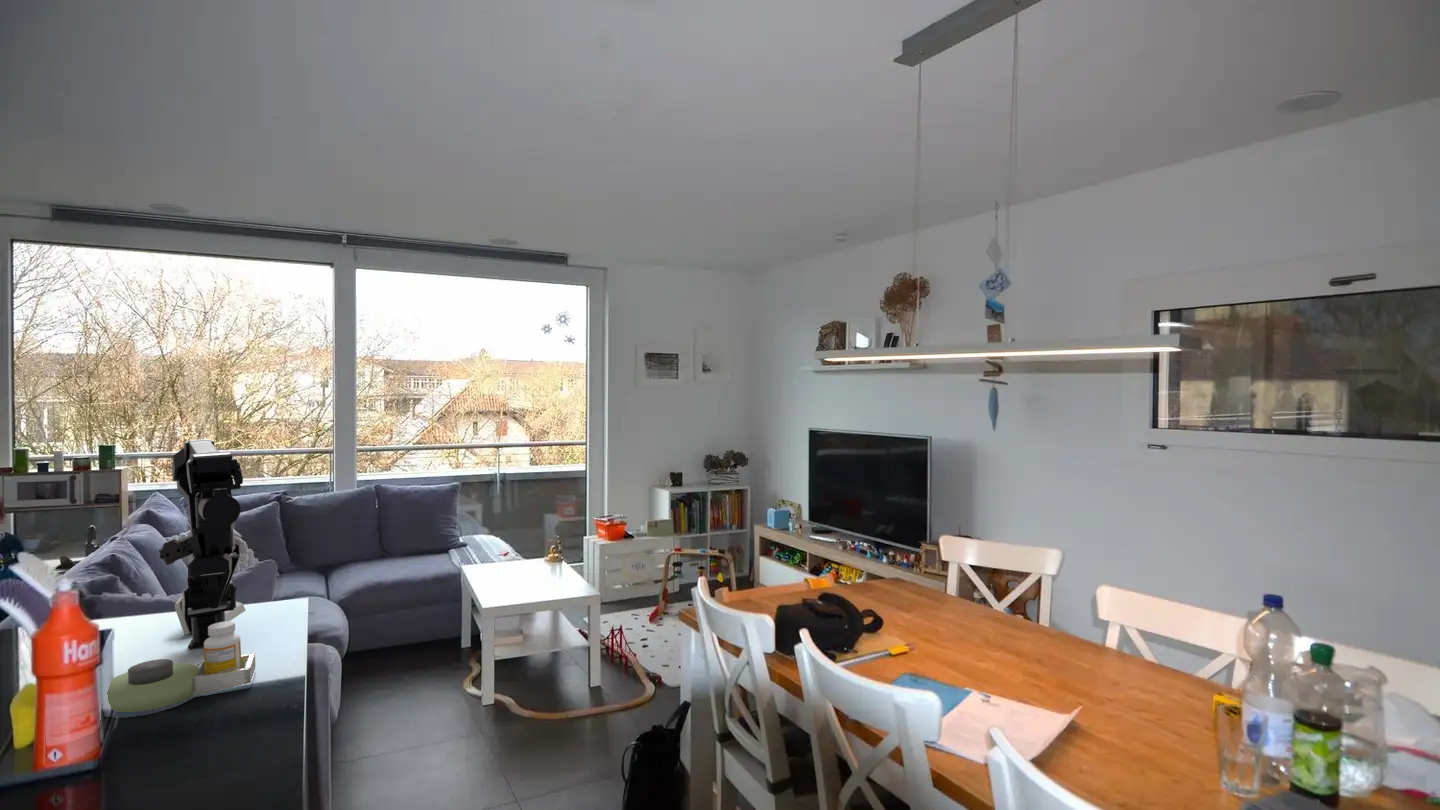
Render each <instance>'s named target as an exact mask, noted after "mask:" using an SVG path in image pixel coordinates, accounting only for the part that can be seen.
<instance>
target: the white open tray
mask: <svg viewBox="0 0 1440 810" xmlns="http://www.w3.org/2000/svg"><path fill="white" fill-rule="evenodd" d="M196 666H197V667H198V674H197V675H196V676H195V677H193V678H192V679H193V695H198V694H204V693H209V692H212V691H217V690H220V689H226V688H231V687H234V686H239V685H242V684H247V683H250V682H251V679H252V676H253V673H254V670H255V667H256V653H253V652H252V653H247V654H241V666H242V669H236V670H230V671H224V672H218V673H212V674H205V662H204V660H202V661H198V663H197V664H196Z"/></svg>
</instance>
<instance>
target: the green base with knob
mask: <svg viewBox="0 0 1440 810" xmlns="http://www.w3.org/2000/svg"><path fill="white" fill-rule="evenodd" d="M197 674H198V667H197V664H193V663H190V662H189V663H188V662H174V660H172V659H170V658H169V659H168V658H159V659H151V660H147V661H144V662H141V663H136V664H134V665H132V666H130V667H129V668H128V669H127V672H124V673H122V674H119V675H117V676H114V677H112V678H110V679H111V681H110V686H109V689H108V692H107V695H108V701H109V704H110V706H111V708H112V710H113V711H116V712H138V711H148V710H153V709H157V708H161V707H164V706H168V705H172V704H175V703H178V702H181V701H183V700H185V699H187V698H189V697H191V696H193V679H192V678H193V677H195V676H196V675H197Z"/></svg>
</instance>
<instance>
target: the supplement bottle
mask: <svg viewBox="0 0 1440 810" xmlns="http://www.w3.org/2000/svg"><path fill="white" fill-rule="evenodd" d="M235 632H236V622H235V621H232V620H230V621H225V622H219V623H215V624H212V625H210V626H209V627H208V635H209V636H210V637H209V638H208V639H206V640H205V642H204V647H203V655H204V656H203V659H204V660H203V661H204V662H205V674H212V673H218V672H224V671H230V670H236V669H242V666H241V655H242V651H241V649H242V648H241V646H242V645H241V644H242V643H241V636H240V634H238V633H235Z"/></svg>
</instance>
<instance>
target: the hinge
mask: <svg viewBox="0 0 1440 810" xmlns="http://www.w3.org/2000/svg"><path fill="white" fill-rule="evenodd" d="M174 610H175V612H176V615H177V618H178V621H179V623H180V626H181V629H182V632H183V634H184V635H185V636H187V635H190V634H192V621H191V618H188V619H184V617H183V614H182V595H181V596H180V597H179V598H178V599H177V600H176V602H175V604H174ZM188 610H191V608H188ZM246 611H247V610H246V608H245V605H244V604H243V603H242V602H239V601H237V600H236V608H234V610H232V611H225V621H232V620H233V619H234V618H236V617H237V616H239V615H240V614H242V613H244V612H246Z"/></svg>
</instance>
